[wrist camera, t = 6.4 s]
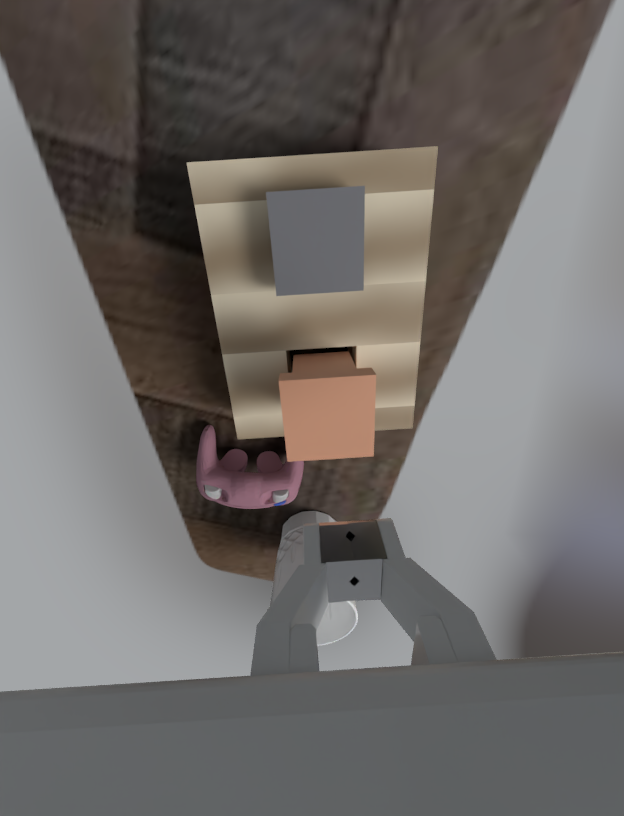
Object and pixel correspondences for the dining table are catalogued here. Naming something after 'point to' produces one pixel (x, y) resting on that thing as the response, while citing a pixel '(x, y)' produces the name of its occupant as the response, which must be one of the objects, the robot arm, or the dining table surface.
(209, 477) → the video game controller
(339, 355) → the terracotta plug
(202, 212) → the socket block
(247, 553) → the dining table surface
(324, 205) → the charcoal plug
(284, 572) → the white cup
